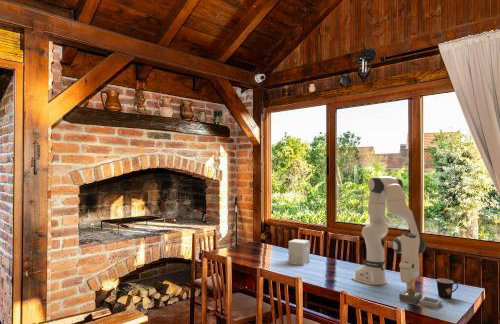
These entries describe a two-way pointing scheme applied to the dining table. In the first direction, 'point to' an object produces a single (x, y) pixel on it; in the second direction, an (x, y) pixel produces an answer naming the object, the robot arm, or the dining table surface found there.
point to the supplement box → (298, 251)
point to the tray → (430, 302)
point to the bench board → (419, 304)
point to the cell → (412, 289)
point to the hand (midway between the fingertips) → (410, 287)
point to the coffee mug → (445, 288)
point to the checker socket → (410, 297)
